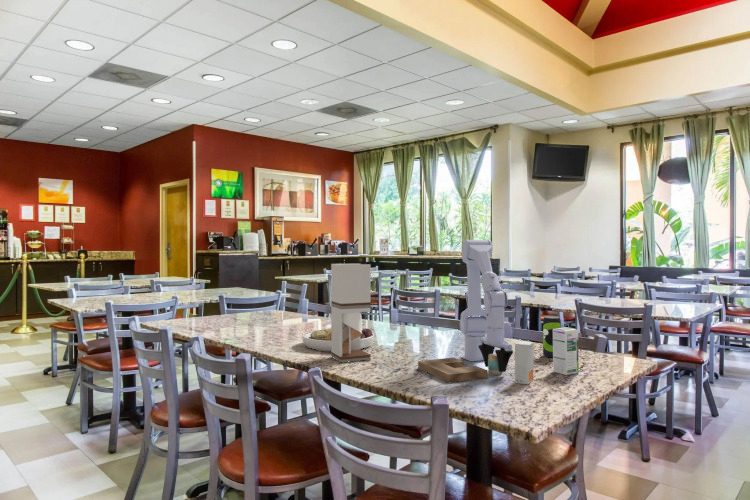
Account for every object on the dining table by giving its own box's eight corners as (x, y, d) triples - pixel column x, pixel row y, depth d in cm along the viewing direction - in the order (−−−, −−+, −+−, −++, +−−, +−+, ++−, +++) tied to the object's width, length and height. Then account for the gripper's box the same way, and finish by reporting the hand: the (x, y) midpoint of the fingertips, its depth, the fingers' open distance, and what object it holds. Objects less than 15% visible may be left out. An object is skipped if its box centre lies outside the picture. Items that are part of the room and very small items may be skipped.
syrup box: (566, 375, 164) (566, 330, 164) (552, 371, 170) (552, 327, 170) (579, 373, 167) (579, 329, 167) (564, 369, 172) (564, 326, 172)
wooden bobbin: (496, 371, 170) (496, 353, 170) (505, 374, 166) (505, 356, 166) (485, 372, 168) (485, 354, 168) (493, 375, 164) (493, 357, 164)
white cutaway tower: (341, 363, 182) (340, 264, 182) (331, 357, 192) (331, 263, 192) (370, 360, 187) (370, 264, 186) (359, 354, 196) (359, 263, 196)
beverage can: (558, 354, 196) (558, 315, 195) (562, 358, 189) (562, 318, 189) (541, 354, 196) (541, 315, 196) (545, 358, 190) (545, 317, 190)
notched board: (453, 364, 180) (453, 357, 180) (487, 378, 161) (487, 370, 161) (418, 368, 174) (418, 361, 174) (448, 382, 156) (448, 374, 156)
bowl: (292, 352, 203) (292, 332, 202) (314, 338, 232) (314, 321, 232) (367, 354, 198) (367, 334, 198) (379, 340, 227) (379, 323, 227)
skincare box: (528, 385, 153) (528, 345, 153) (514, 383, 156) (514, 343, 155) (534, 380, 158) (534, 341, 158) (520, 378, 161) (520, 340, 161)
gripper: (472, 325, 172) (472, 365, 172) (498, 331, 159) (498, 375, 159) (489, 323, 175) (489, 363, 175) (517, 330, 162) (517, 373, 162)
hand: (495, 369), depth 167 cm, fingers open, 7 cm apart
